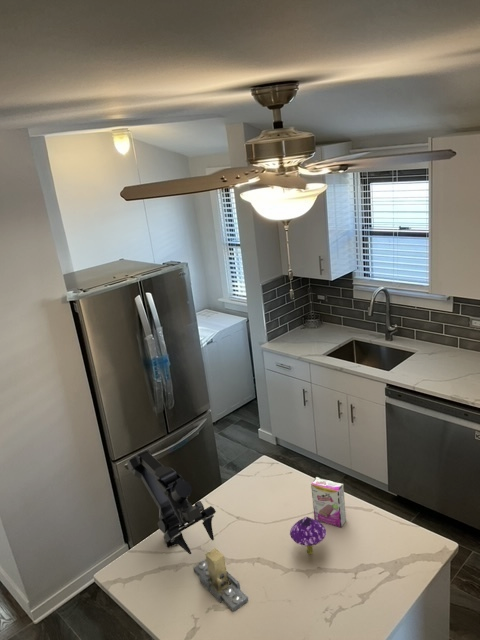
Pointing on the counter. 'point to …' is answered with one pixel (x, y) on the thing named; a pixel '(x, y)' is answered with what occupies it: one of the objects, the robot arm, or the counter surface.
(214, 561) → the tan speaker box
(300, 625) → the counter surface
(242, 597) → the chain ends
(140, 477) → the robot arm
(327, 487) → the candy bar box
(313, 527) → the decorative mushroom
